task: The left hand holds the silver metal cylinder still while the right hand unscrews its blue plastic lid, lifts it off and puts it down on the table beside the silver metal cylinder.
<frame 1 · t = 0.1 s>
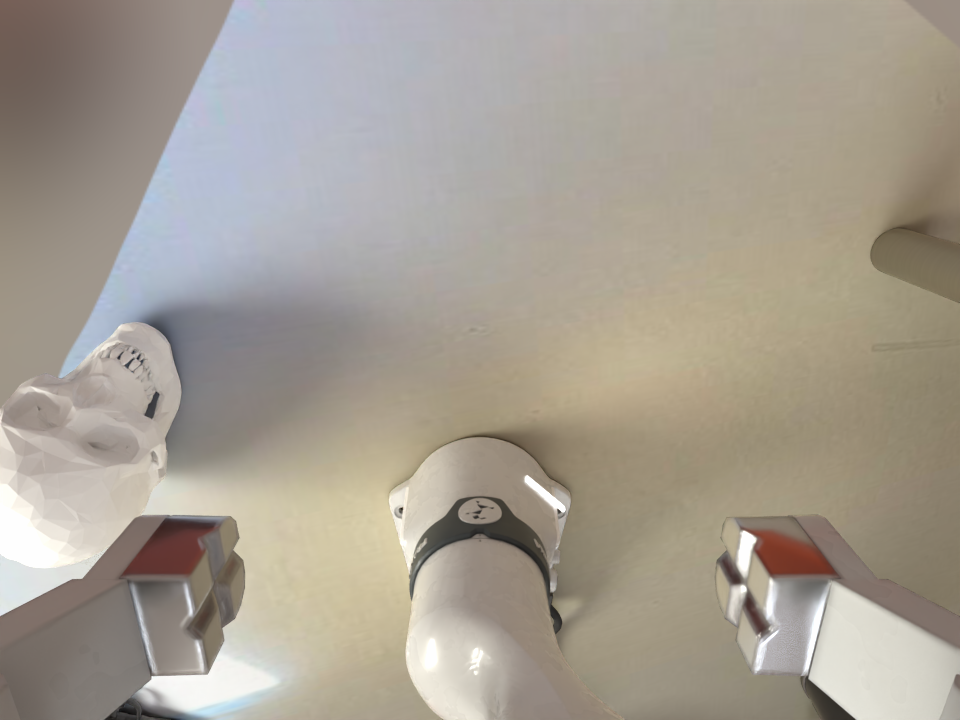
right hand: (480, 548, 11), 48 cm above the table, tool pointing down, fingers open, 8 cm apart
handgun: (114, 690, 77), on the table
skull: (124, 411, 63), on the table
silver metal cylinder: (893, 250, 57), on the table
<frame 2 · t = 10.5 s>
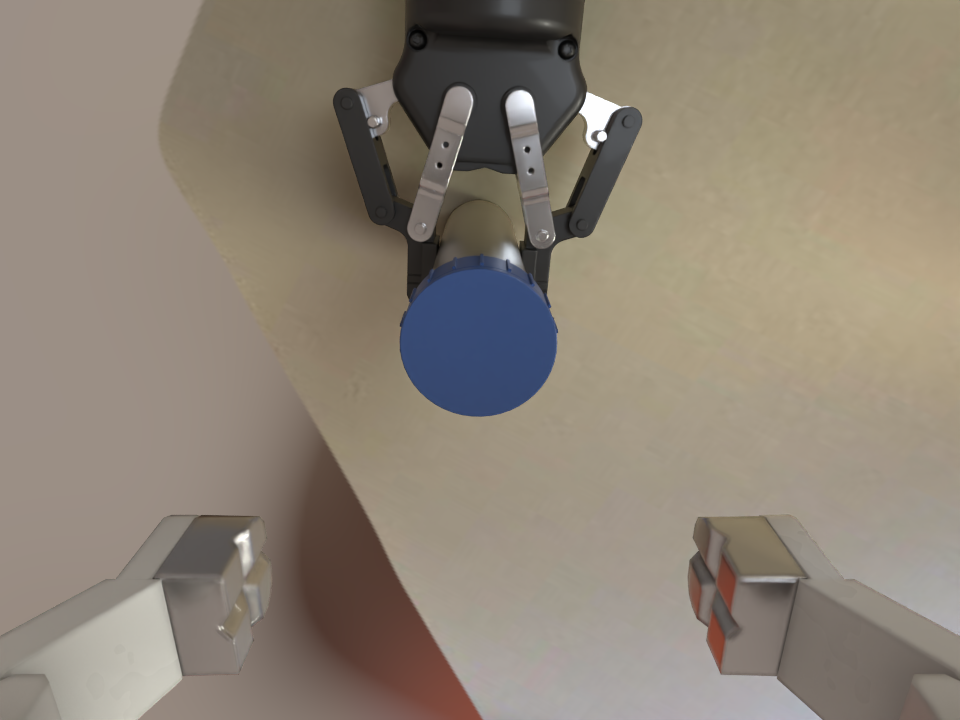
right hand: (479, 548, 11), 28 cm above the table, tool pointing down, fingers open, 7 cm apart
left hand: (476, 314, 32), fingers closed on silver metal cylinder, 4 cm apart
silver metal cylinder: (478, 235, 37), on the table, touching left hand
lid: (478, 342, 20), point 18 cm above the table, screwed on, not yet turned
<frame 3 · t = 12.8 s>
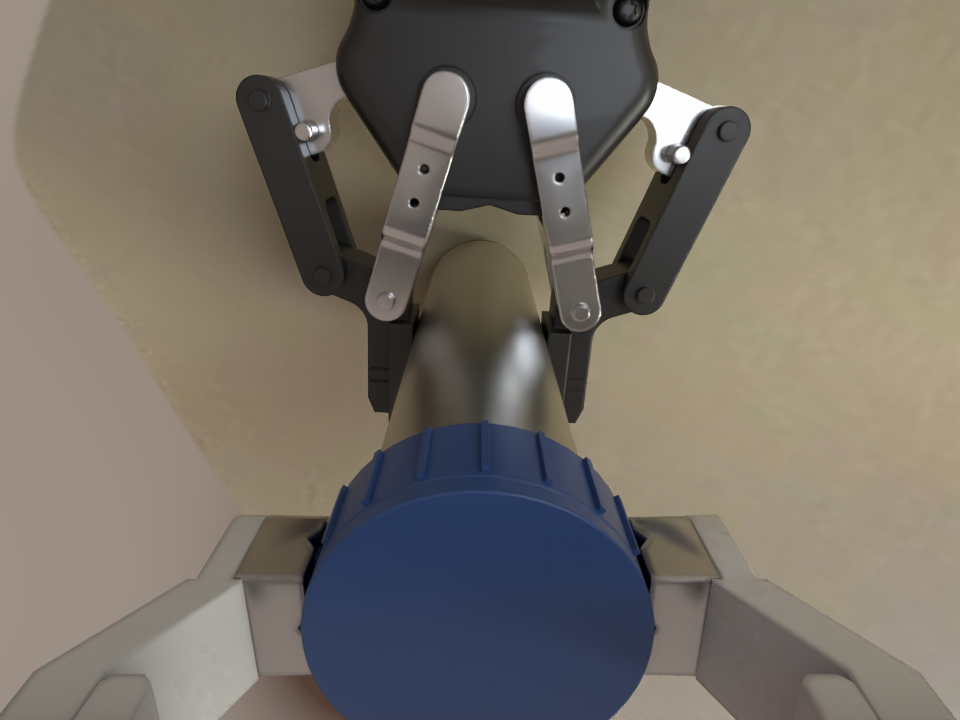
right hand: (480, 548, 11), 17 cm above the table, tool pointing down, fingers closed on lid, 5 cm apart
left hand: (475, 421, 21), fingers closed on silver metal cylinder, 4 cm apart
silver metal cylinder: (479, 289, 26), on the table, touching left hand
lid: (477, 623, 9), point 18 cm above the table, screwed on, not yet turned, touching right hand
when the right hand's fingers open (17 cm above the table, at t = 14.0 s): lid stays where it is, point 19 cm above the table.
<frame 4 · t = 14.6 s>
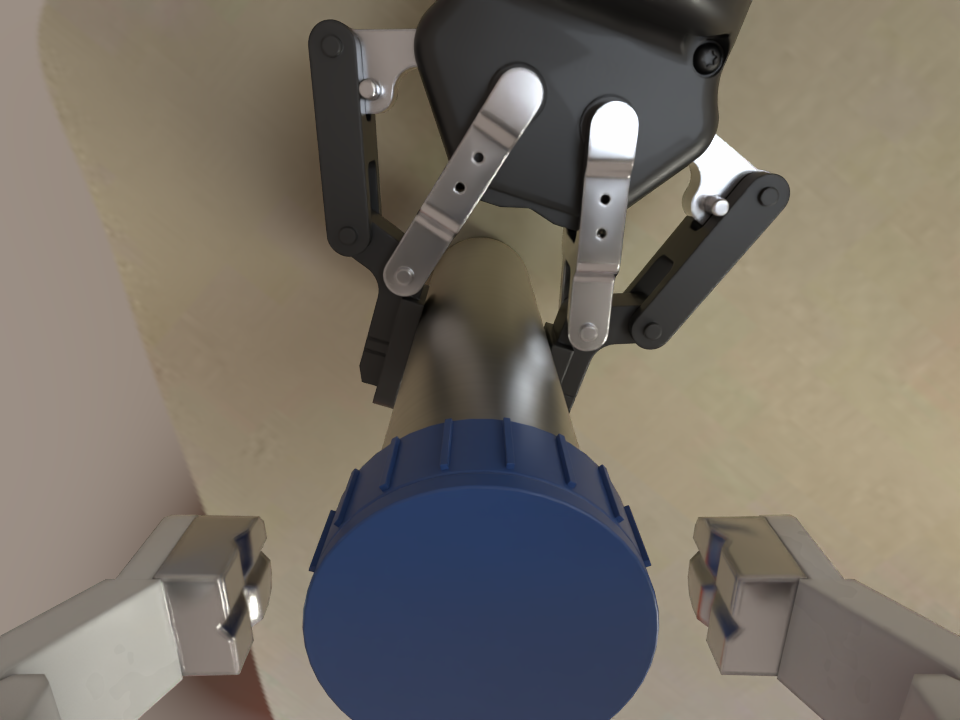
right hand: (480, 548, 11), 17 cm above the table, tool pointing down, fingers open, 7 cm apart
left hand: (456, 413, 21), fingers closed on silver metal cylinder, 4 cm apart
silver metal cylinder: (480, 285, 26), on the table, touching left hand
lid: (480, 620, 9), point 19 cm above the table, turned 68° so far, risen 0.2 cm, still on its thread
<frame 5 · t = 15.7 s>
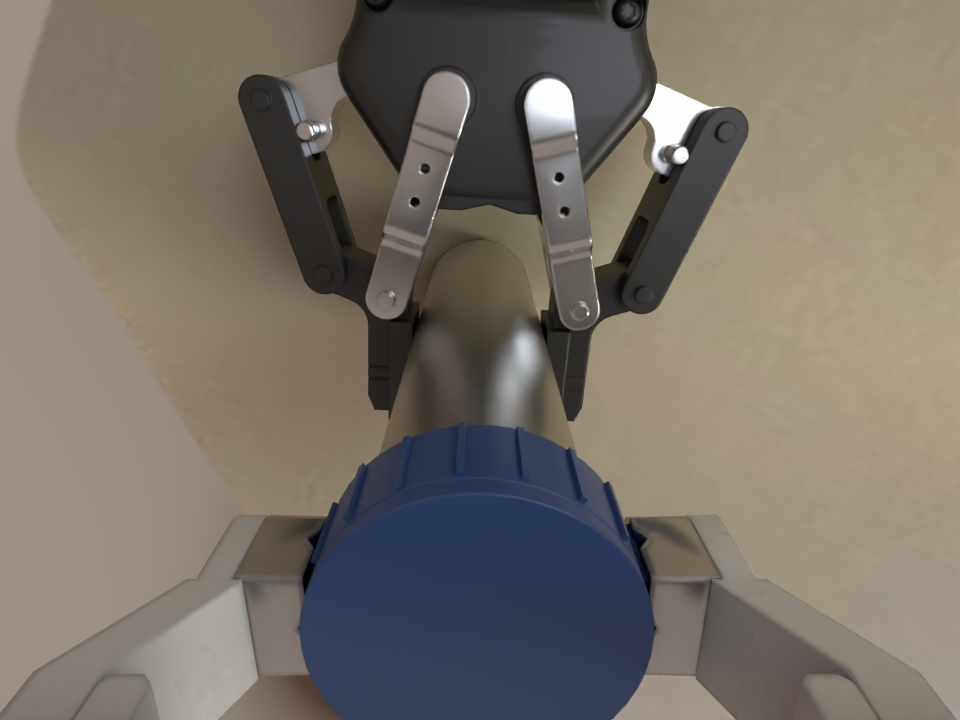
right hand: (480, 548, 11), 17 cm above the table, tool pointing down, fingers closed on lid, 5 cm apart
left hand: (474, 419, 21), fingers closed on silver metal cylinder, 4 cm apart
silver metal cylinder: (479, 288, 26), on the table, touching left hand
lid: (477, 625, 9), point 19 cm above the table, turned 68° so far, risen 0.2 cm, still on its thread, touching right hand
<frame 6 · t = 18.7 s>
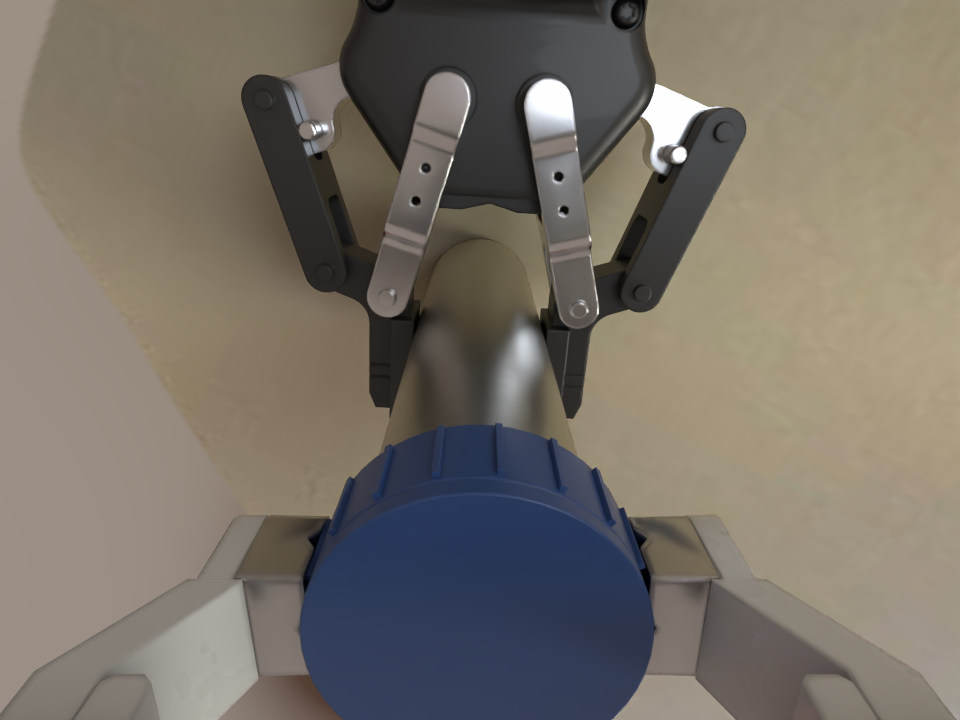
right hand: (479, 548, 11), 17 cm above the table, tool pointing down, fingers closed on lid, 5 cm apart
left hand: (474, 417, 21), fingers closed on silver metal cylinder, 4 cm apart
silver metal cylinder: (479, 287, 27), on the table, touching left hand
lid: (476, 625, 9), point 19 cm above the table, turned 135° so far, risen 0.4 cm, still on its thread, touching right hand
when the right hand's fingers open (2 cm above the table, at t = 25.5 s): lid drops 2 cm, point 2 cm above the table.
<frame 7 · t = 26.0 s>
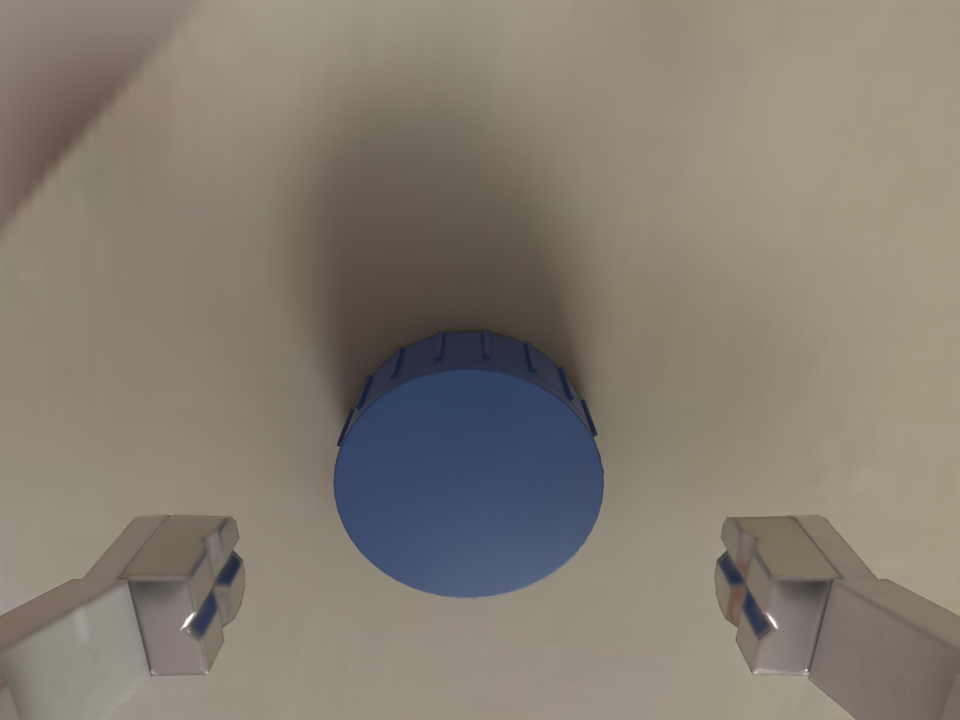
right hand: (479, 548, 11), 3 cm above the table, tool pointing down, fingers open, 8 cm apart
lid: (469, 482, 12), point 2 cm above the table, off its thread
when the left hand's fingers open (7 cm above the table, at t = 26.5 s): silver metal cylinder stays where it is, on the table.
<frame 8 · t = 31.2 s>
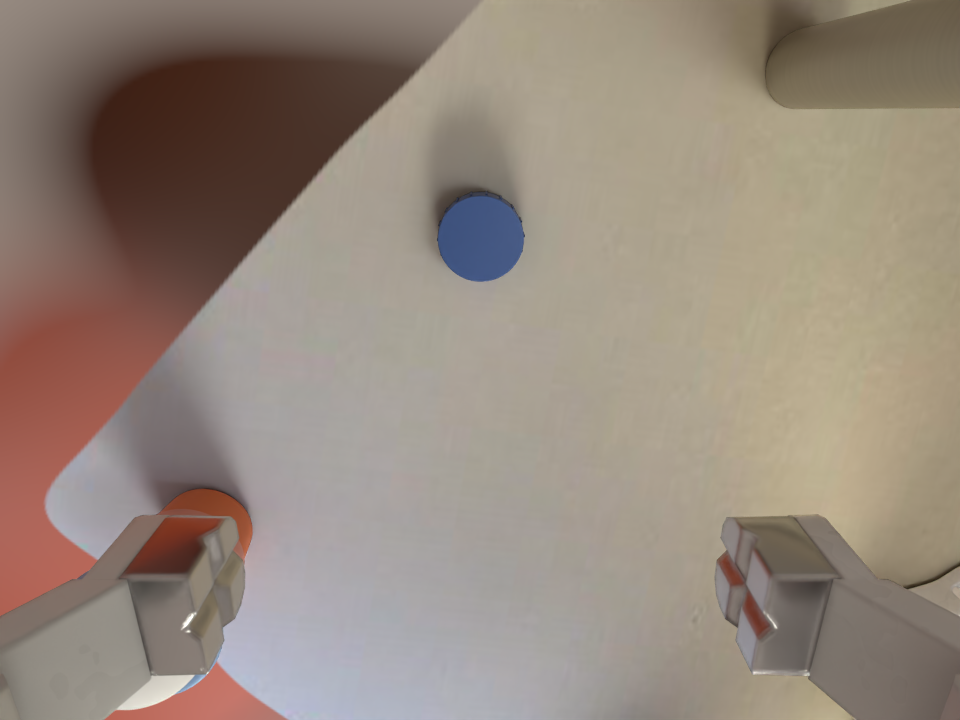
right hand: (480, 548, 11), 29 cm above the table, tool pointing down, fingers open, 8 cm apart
silver metal cylinder: (802, 69, 35), on the table
lid: (480, 238, 37), point 2 cm above the table, off its thread
cup with straw: (211, 522, 46), on the table
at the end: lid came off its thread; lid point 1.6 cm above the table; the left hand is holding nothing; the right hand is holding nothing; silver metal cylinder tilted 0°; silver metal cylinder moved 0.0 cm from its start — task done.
